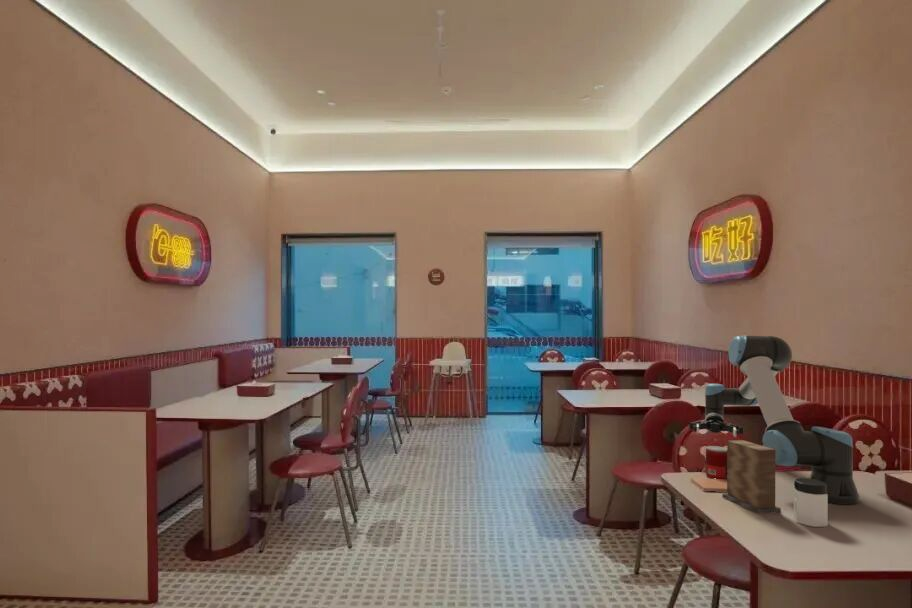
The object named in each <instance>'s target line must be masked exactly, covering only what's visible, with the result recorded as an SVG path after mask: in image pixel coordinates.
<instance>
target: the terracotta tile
mask: <svg viewBox="0 0 912 608" xmlns="http://www.w3.org/2000/svg"><path fill="white" fill-rule="evenodd" d="M690 481H691V483H692V484H693V485H695V486H696V487H697V486H698V488H699V490H701V489H702V490H703V491H702V490H701V491H702V492H706V491H721V492H720V493H727V479H713V478H699V477H698V478H697V477H696V478H695V477H692V478H690Z"/></svg>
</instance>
